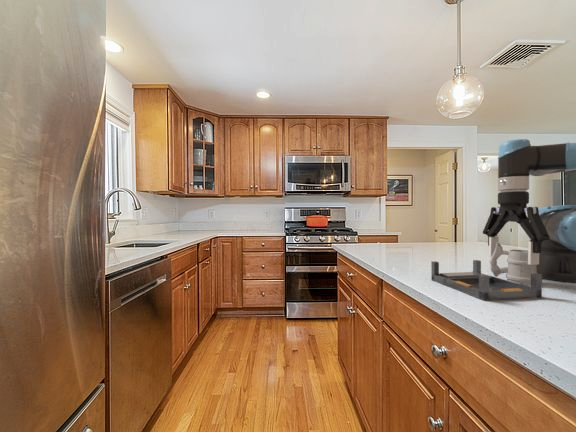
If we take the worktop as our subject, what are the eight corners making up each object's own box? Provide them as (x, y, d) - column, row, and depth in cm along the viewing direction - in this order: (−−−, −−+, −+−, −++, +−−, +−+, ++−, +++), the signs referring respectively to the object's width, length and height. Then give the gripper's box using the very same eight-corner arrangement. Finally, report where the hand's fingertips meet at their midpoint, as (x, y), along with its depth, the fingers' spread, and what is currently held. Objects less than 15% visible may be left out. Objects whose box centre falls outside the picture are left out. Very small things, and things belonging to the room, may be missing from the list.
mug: (539, 287, 80) (540, 246, 80) (489, 281, 87) (489, 243, 87) (537, 282, 86) (537, 243, 86) (490, 277, 93) (490, 241, 93)
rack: (477, 278, 92) (477, 260, 92) (541, 297, 71) (542, 274, 71) (431, 280, 90) (431, 261, 90) (483, 300, 69) (483, 276, 69)
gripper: (471, 193, 98) (470, 253, 98) (543, 188, 73) (541, 268, 74) (490, 193, 99) (489, 253, 99) (568, 188, 74) (567, 268, 74)
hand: (512, 260), depth 86 cm, fingers open, 13 cm apart
